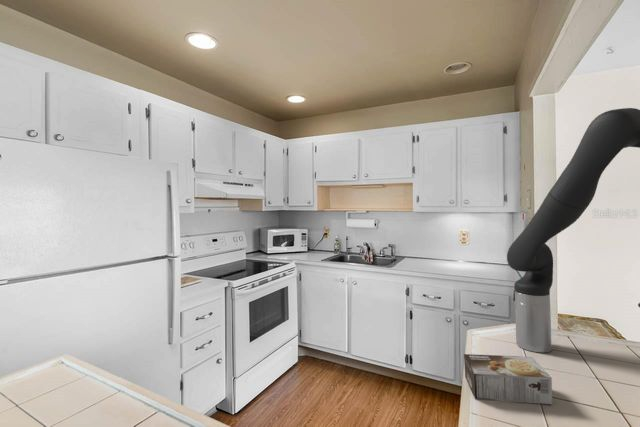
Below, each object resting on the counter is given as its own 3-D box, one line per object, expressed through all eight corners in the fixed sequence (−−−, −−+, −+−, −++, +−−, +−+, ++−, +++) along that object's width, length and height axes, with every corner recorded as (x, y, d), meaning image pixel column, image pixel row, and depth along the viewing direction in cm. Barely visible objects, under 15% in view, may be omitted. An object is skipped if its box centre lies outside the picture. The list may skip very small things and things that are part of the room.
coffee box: (533, 381, 76) (464, 376, 79) (532, 356, 76) (463, 352, 79) (553, 405, 67) (474, 399, 70) (552, 377, 67) (473, 372, 70)
